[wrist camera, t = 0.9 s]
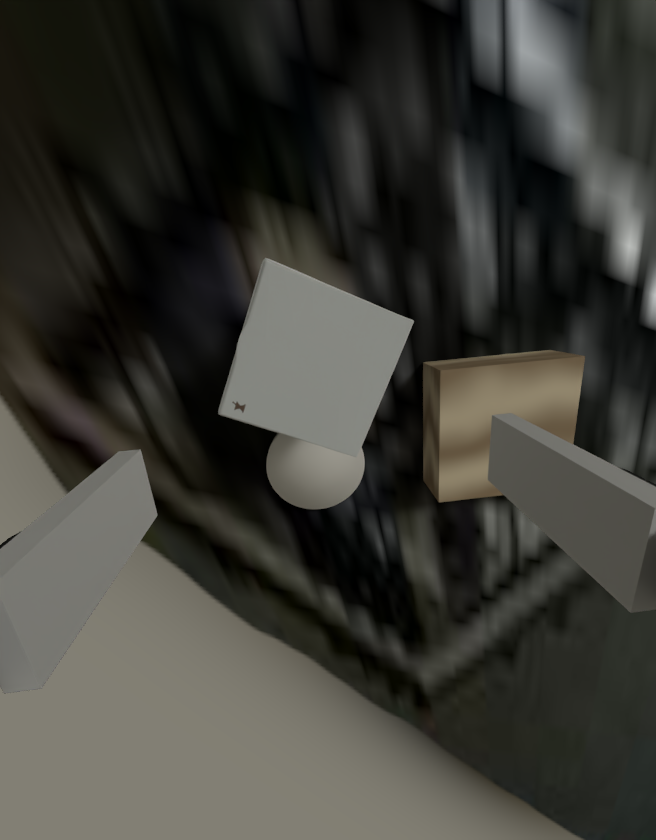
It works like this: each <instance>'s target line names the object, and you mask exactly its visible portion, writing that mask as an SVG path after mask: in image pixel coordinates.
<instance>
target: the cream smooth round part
mask: <svg viewBox="0 0 656 840" xmlns="http://www.w3.org/2000/svg"><path fill="white" fill-rule="evenodd" d="M364 465H365V460H364V454H363V450H362V448H361V449H360V451H359V454H358V456H357V457H353V456H350V455H347V454H344V453H340V452H337V451H334V450H331V449H328V448H325V447H322V446H319V445H316V444H312V443H309V442H306V441H303V440H299V439H296V438H293V437H290V436H286V435H283V434H280V433H277V435H276V436H275V437H274V439H273V441H272V442H271V445H270V447H269V451H268V455H267V462H266V469H267V475H268V479H269V481H270V483H271V485H272V487H273V489H274V490H275V491H276V493H277V494H278V495H279V496H280V497H281V498H283V499H284V500H285V501H287V502H289V503H290V504H292V505H295V506H297V507H301V508H305V509H323V508H328V507H331V506H334V505H336V504H338V503H340V502H342V501H344V500H345V499H346V498H348V497H349V496H350V495H351V494H352V493H353V492H354V491H355V489H356V488H357V486H358V485H359V483H360V481H361V479H362V476H363V473H364Z"/></svg>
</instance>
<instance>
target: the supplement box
mask: <svg viewBox="0 0 656 840" xmlns="http://www.w3.org/2000/svg"><path fill="white" fill-rule="evenodd" d="M413 323H414V320H411V319H408V318H406V317H403V316H401V315H398V314H396V313H394V312H391V311H389V310H387V309H384V308H382V307H380V306H377V305H375V304H373V303H370V302H368V301H366V300H363V299H361V298H359V297H356V296H354V295H352V294H349V293H347V292H345V291H342V290H340V289H338V288H335V287H333V286H331V285H328V284H326V283H323V282H321V281H319V280H317V279H314V278H312V277H310V276H308V275H305V274H303V273H301V272H298V271H296V270H294V269H291V268H289V267H287V266H284V265H282V264H280V263H277V262H275V261H273V260H270V259H267V258H265V259H264V260H263V262H262V265H261V268H260V271H259V275H258V278H257V281H256V285H255V288H254V292H253V295H252V298H251V302H250V305H249V308H248V312H247V315H246V319H245V322H244V325H243V329H242V332H241V334H240V337H239V340H238V343H237V348H236V352H235V356H234V359H233V362H232V366H231V369H230V373H229V376H228V379H227V383H226V386H225V389H224V393H223V396H222V399H221V403H220V406H219V410H218V414H219V415H221V416H224V417H228V418H231V419H234V420H237V421H241V422H244V423H247V424H250V425H254V426H257V427H260V428H263V429H267V430H270V431H273V432H277V433H280V434H283V435H286V436H290V437H293V438H296V439H299V440H303V441H306V442H309V443H312V444H316V445H319V446H322V447H325V448H328V449H331V450H334V451H337V452H340V453H344V454H347V455H350V456H353V457H357V456H358V454H359V451H360V449H361V447H362V444H363V442H364V440H365V437H366V435H367V432H368V430H369V428H370V425H371V423H372V420H373V418H374V416H375V413H376V411H377V409H378V406H379V404H380V402H381V399H382V397H383V394H384V392H385V390H386V387H387V385H388V383H389V380H390V378H391V376H392V373H393V371H394V368H395V366H396V364H397V361H398V359H399V357H400V354H401V352H402V349H403V347H404V345H405V342H406V340H407V337H408V335H409V332H410V330H411V327H412V325H413Z"/></svg>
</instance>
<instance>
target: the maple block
mask: <svg viewBox="0 0 656 840" xmlns="http://www.w3.org/2000/svg"><path fill="white" fill-rule="evenodd" d="M584 360H585V356H581V355H575V354H570V353H564V352H558V351H553V350H546V351H535V352H525V353H515V354H504V355H494V356H484V357H473V358H463V359H453V360H443V361H432V362H423V481H424V482H425V484H426V485H427V486H428V488H429V489H430V491H431V492H432V494H433V495H434V496H435V498H436V499H437V501H438V502H447V501H456V500H465V499H473V498H482V497H491V496H499V495H503V494H502V493H501V492H500V491H499V490H498V489H497V488H496V487H495V486H494V485H493V484H492V483H490V482H489V481H488V466H489V451H490V437H491V422H492V415H497V414H507V413H512V414H514V415H516V416H518V417H520V418H522V419H524V420H526V421H528V422H530V423H532V424H534V425H536V426H538V427H540V428H542V429H544V430H546V431H548V432H550V433H551V434H553V435H555V436H557V437H559V438H561V439H563V440H565V441H567V442H569V443H571V444H573V441H574V434H575V427H576V419H577V412H578V404H579V397H580V390H581V382H582V375H583V368H584Z"/></svg>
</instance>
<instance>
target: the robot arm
mask: <svg viewBox="0 0 656 840" xmlns="http://www.w3.org/2000/svg"><path fill="white" fill-rule="evenodd" d="M488 481H489V482H490V483H492V484H493V485H494V486H495V487H496V488H497V489H498V490H499V491H500V492H501V493H502V494H503V495H504V496H506V497H507V498H508V499H509V500H510V501H511V502H512V503H513V504H514V505H515V506H516V507H517V508H518V509H520V510H521V511H522V512H523V513H524V514H525V515H526V516H527V517H528V518H529V519H530V520H531V521H532V522H534V523H535V524H536V525H537V526H538V527H539V528H540V529H541V530H542V531H543V532H544V533H545V534H546V535H548V536H549V537H550V538H551V539H552V540H553V541H554V542H555V543H556V544H557V545H558V546H559V547H560V548H562V549H563V550H564V551H565V552H566V553H567V554H568V555H569V556H570V557H571V558H572V559H573V560H574V561H576V562H577V563H578V564H579V565H580V566H581V567H582V568H583V569H584V570H585V571H586V572H587V573H588V574H590V575H591V576H592V577H593V578H594V579H595V580H596V581H597V582H598V583H599V584H600V585H601V586H602V587H604V588H605V589H606V590H607V591H608V592H609V593H610V594H611V595H612V596H613V597H614V598H615V599H616V600H618V601H619V602H620V603H621V604H622V605H623V606H624V607H625V608H626V609H627V610H628V611H629V612H630V613H633V612H641V611H648V610H656V484H654V483H652V482H650V481H645V479H644V478H642V477H640V476H638V475H636V474H634V473H632V472H630V471H628V470H625V469H622V468H619V467H616V466H614V465H612V464H610V463H608V462H606V461H604V460H602V459H600V458H598V457H597V456H595V455H593V454H591V453H589V452H587V451H585V450H583V449H581V448H579V447H577V446H575V445H573V444H571V443H569V442H567V441H565V440H563V439H561V438H559V437H557V436H555V435H553V434H551V433H550V432H548V431H546V430H544V429H542V428H540V427H538V426H536V425H534V424H532V423H530V422H528V421H526V420H524V419H522V418H520V417H518V416H516V415H514V414H512V413H507V414H497V415H492V422H491V437H490V451H489V466H488ZM156 517H157V511H156V507H155V503H154V500H153V496H152V492H151V488H150V484H149V480H148V476H147V472H146V468H145V464H144V461H143V457H142V453H141V449H140V450H130V451H119V452H118V453H117V454H115V455H114V456H113V457H112V458H111V459H109V460H108V461H107V462H106V463H104V464H103V465H102V466H101V467H100V468H98V469H97V470H96V471H95V472H93V473H92V474H91V475H90V476H89V477H87V478H86V479H85V480H84V481H82V482H81V483H80V484H79V485H78V486H76V487H75V488H74V489H73V490H72V491H70V492H69V493H68V494H67V495H65V496H64V497H63V498H62V499H61V500H59V501H58V502H57V503H56V504H54V505H53V506H52V507H51V508H50V509H48V510H47V511H46V512H45V513H43V514H42V515H41V516H40V517H39V518H38V519H36V520H35V521H34V522H32V523H31V524H30V525H29V526H28V527H26V528H25V529H24V530H23V531H21V532H19V533H18V534H16V535H14V536H12V537H10V538H8V539H7V540H6V541H5V542H3V543H2V544H1V545H0V687H1V689H2V691H3V693H11V692H20V691H28V690H35V689H41V688H42V687H43V685H44V684H45V682H46V681H47V679H48V678H49V676H50V675H51V673H52V672H53V671H54V669H55V668H56V666H57V665H58V663H59V662H60V660H61V659H62V657H63V656H64V654H65V653H66V651H67V650H68V648H69V647H70V645H71V644H72V642H73V641H74V639H75V638H76V636H77V634H78V633H79V632H80V630H81V629H82V627H83V626H84V624H85V623H86V621H87V620H88V618H89V617H90V615H91V614H92V612H93V610H94V609H95V608H96V606H97V605H98V603H99V602H100V600H101V599H102V597H103V596H104V594H105V593H106V591H107V590H108V588H109V587H110V585H111V584H112V582H113V581H114V579H115V578H116V577H117V575H118V574H119V572H120V571H121V569H122V567H123V566H124V565H125V563H126V562H127V560H128V559H129V557H130V556H131V554H132V553H133V551H134V550H135V548H136V547H137V545H138V544H139V542H140V541H141V539H142V538H143V536H144V535H145V533H146V532H147V530H148V529H149V527H150V526H151V524H152V523H153V521H154V520H155V518H156Z"/></svg>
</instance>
